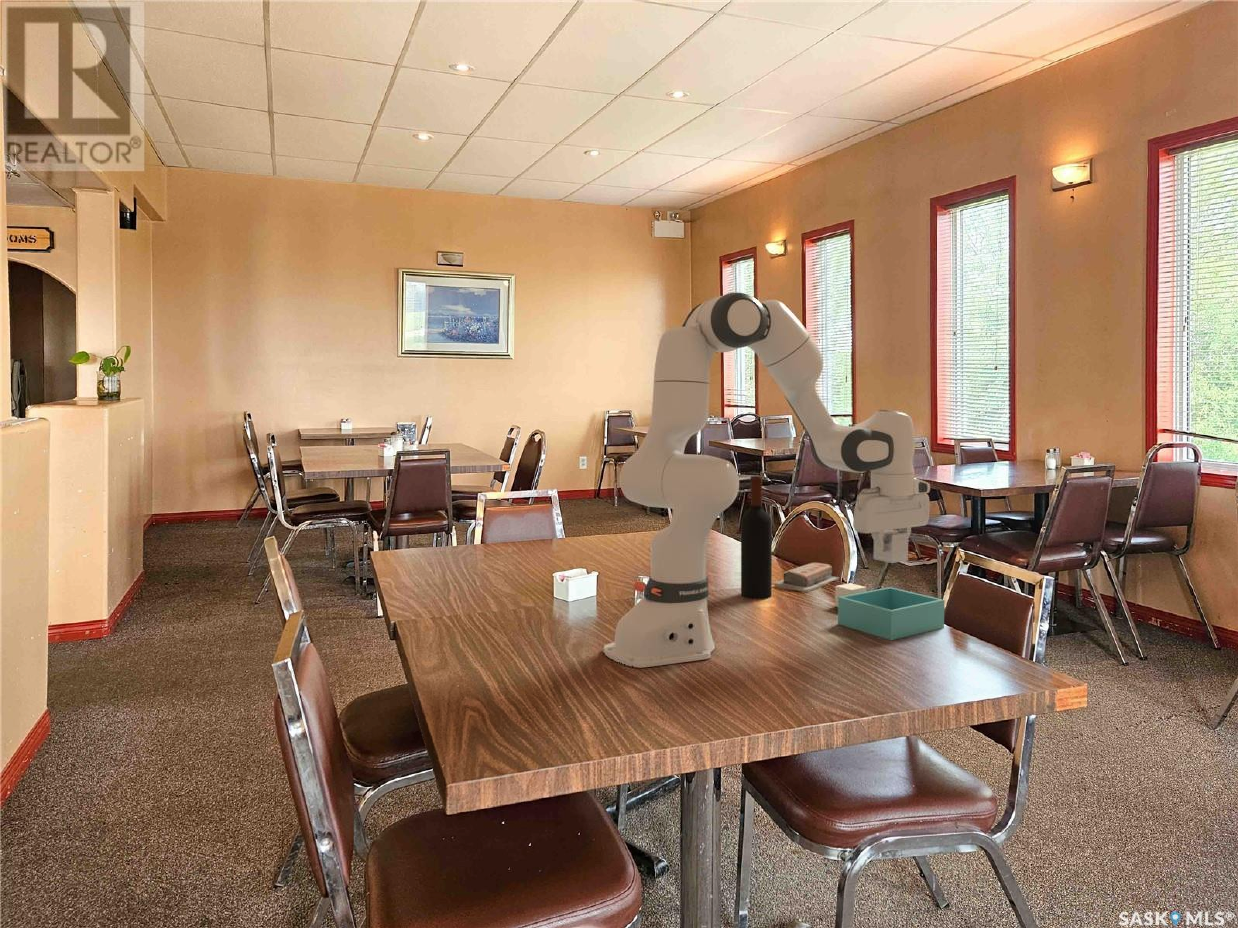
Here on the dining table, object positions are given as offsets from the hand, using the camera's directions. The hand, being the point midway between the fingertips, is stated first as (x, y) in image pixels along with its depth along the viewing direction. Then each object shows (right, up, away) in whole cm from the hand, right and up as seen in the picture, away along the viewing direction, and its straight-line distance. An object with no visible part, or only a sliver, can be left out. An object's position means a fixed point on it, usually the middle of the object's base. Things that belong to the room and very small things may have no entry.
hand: (891, 549), depth 180 cm
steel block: (0, -2, 0) cm, 2 cm away
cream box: (-4, -15, +18) cm, 24 cm away
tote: (0, -17, +1) cm, 17 cm away
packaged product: (-9, -14, +42) cm, 45 cm away
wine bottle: (-24, -15, +30) cm, 41 cm away
